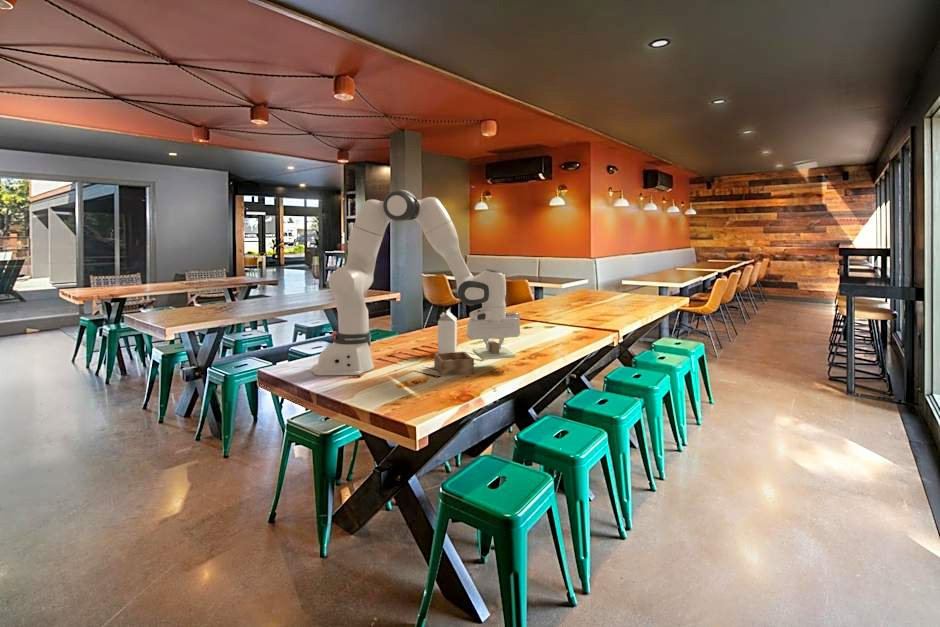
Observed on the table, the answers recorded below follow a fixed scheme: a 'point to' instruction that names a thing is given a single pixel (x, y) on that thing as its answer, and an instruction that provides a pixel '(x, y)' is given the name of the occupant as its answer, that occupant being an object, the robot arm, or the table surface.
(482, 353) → the lid
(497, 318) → the robot arm
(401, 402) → the table surface
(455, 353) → the walnut box
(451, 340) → the milk carton
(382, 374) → the table surface
